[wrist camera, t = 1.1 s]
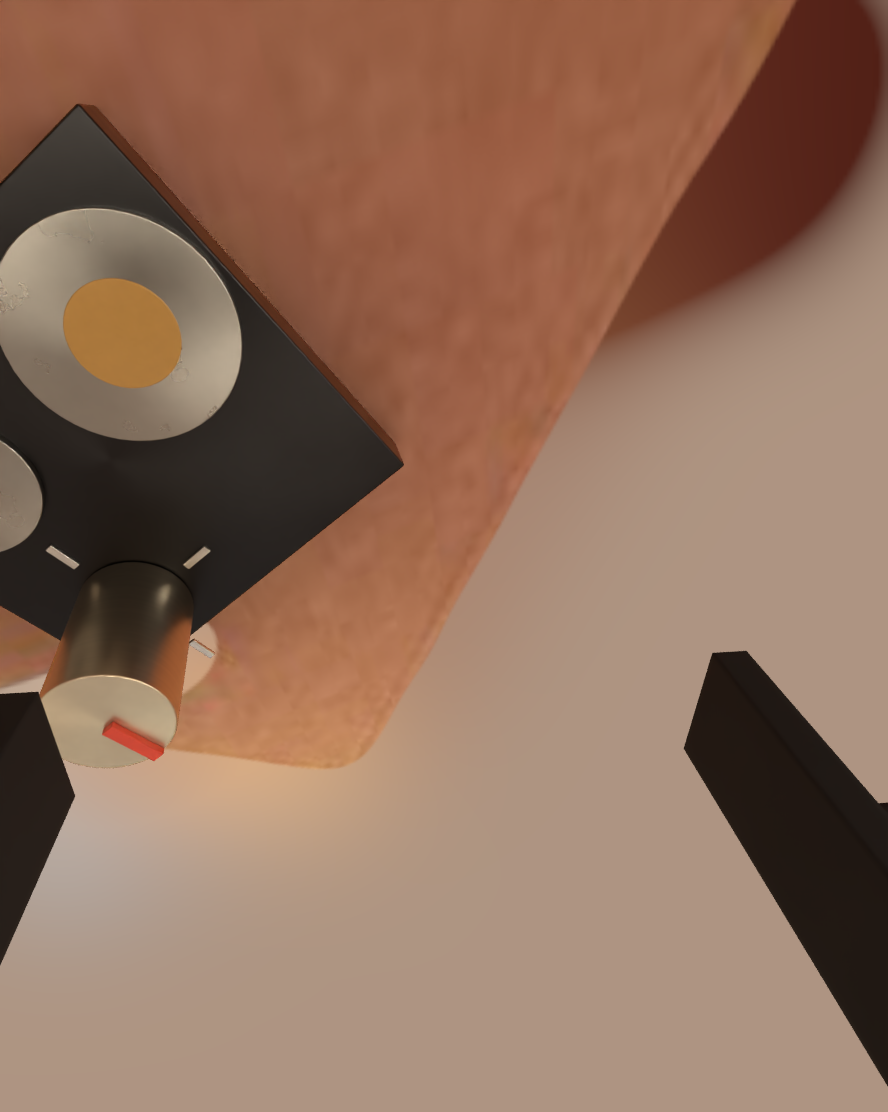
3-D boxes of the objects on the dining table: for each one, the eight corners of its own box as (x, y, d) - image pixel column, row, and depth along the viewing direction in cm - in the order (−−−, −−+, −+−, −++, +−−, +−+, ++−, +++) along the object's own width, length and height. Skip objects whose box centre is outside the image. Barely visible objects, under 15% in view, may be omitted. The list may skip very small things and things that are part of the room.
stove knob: (53, 606, 30) (-3, 737, 23) (129, 541, 29) (93, 659, 23) (144, 662, 33) (116, 791, 26) (216, 604, 32) (205, 724, 25)
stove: (-230, 438, 26) (-275, 467, 24) (94, 104, 22) (76, 102, 20) (155, 671, 36) (149, 706, 34) (415, 465, 33) (426, 489, 31)
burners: (-205, 462, 24) (-212, 467, 24) (106, 148, 21) (103, 148, 21) (9, 590, 29) (6, 596, 28) (288, 347, 26) (288, 350, 26)
